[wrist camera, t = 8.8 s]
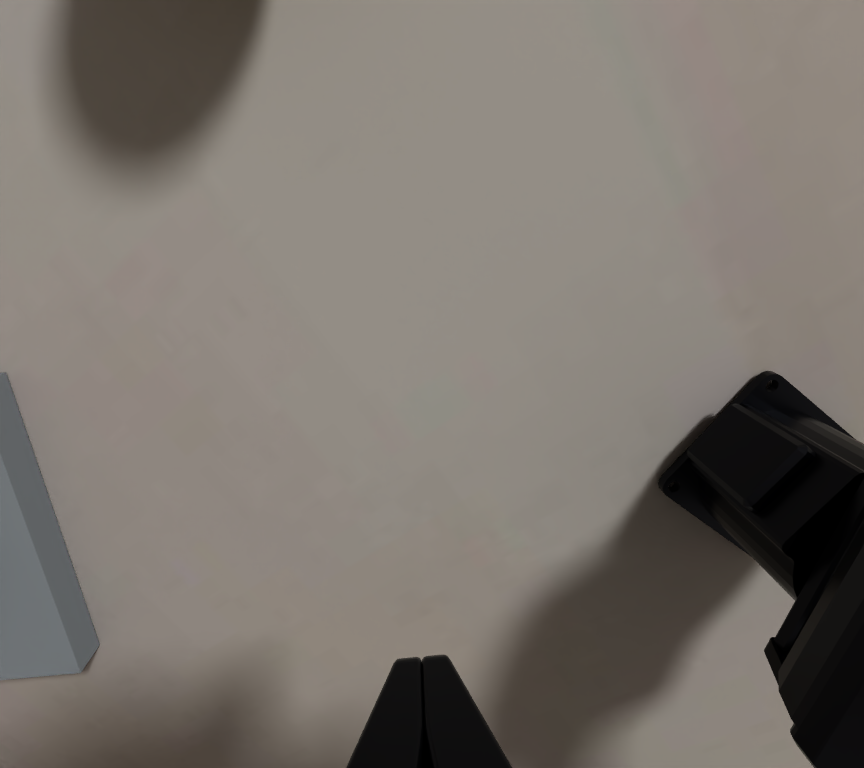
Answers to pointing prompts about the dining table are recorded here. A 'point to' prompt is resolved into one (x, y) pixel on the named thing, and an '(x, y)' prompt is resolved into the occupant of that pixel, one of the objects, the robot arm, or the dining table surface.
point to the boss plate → (35, 567)
